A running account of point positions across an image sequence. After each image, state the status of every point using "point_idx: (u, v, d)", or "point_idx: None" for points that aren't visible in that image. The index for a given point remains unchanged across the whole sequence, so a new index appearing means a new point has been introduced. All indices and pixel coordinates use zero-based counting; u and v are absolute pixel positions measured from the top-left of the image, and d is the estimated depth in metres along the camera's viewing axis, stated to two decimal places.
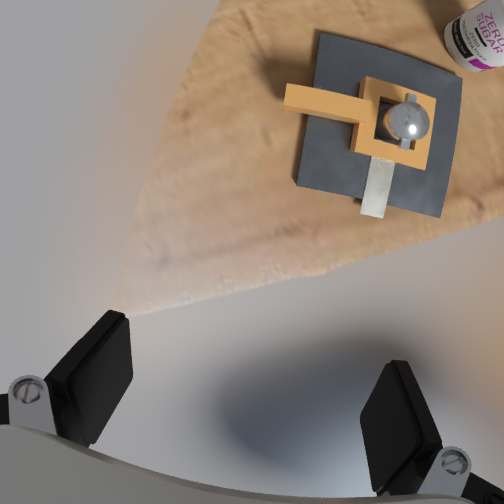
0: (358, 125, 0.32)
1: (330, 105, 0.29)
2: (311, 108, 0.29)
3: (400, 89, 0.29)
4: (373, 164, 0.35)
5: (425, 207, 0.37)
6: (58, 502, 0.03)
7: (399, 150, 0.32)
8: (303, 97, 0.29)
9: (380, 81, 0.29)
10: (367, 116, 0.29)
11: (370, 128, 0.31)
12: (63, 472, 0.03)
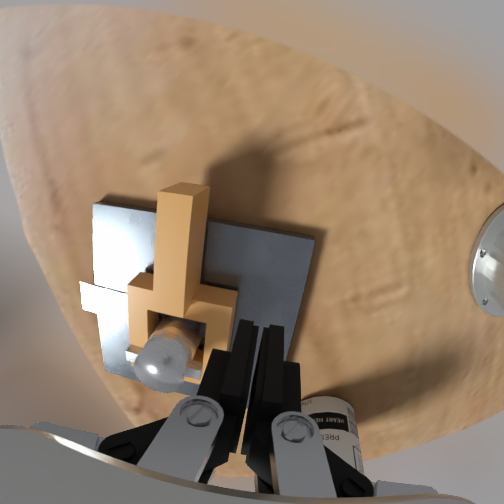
0: None
1: (166, 260, 0.21)
2: (157, 233, 0.21)
3: (221, 349, 0.26)
4: None
5: (108, 355, 0.32)
6: (58, 502, 0.03)
7: (142, 338, 0.26)
8: (172, 221, 0.20)
9: (227, 325, 0.25)
10: (161, 310, 0.23)
11: None
12: (63, 472, 0.03)
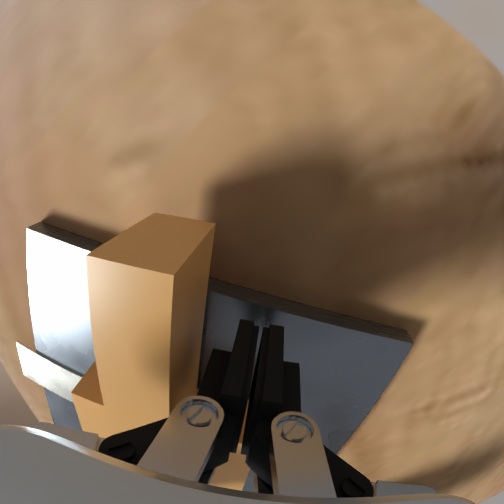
0: None
1: (125, 397, 0.09)
2: (98, 348, 0.08)
3: (235, 484, 0.13)
4: None
5: None
6: (58, 502, 0.03)
7: None
8: (127, 330, 0.08)
9: None
10: None
11: None
12: (63, 472, 0.03)
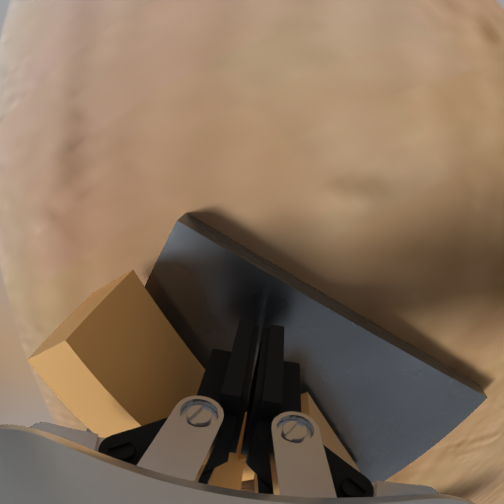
0: None
1: None
2: (87, 424, 0.08)
3: None
4: None
5: None
6: (58, 502, 0.03)
7: None
8: (84, 399, 0.08)
9: None
10: None
11: None
12: (63, 472, 0.03)
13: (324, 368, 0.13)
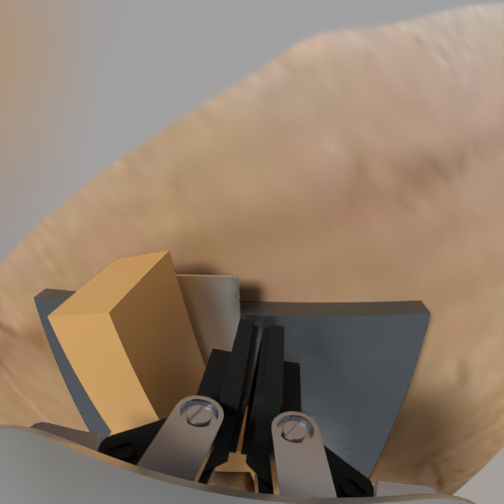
0: None
1: None
2: (89, 392, 0.08)
3: None
4: None
5: None
6: (58, 502, 0.03)
7: None
8: (101, 370, 0.08)
9: None
10: None
11: None
12: (63, 472, 0.03)
13: (348, 437, 0.15)
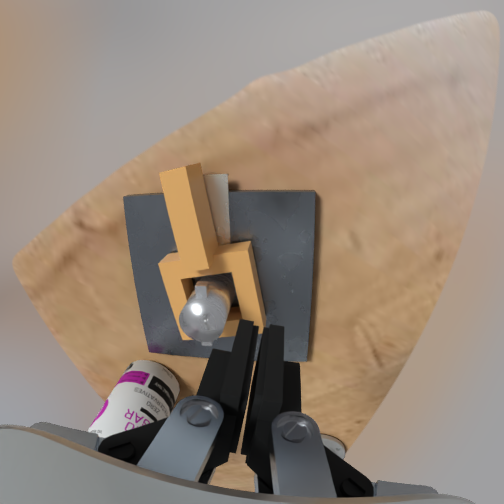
0: None
1: (181, 224, 0.27)
2: (168, 205, 0.26)
3: (252, 292, 0.30)
4: (225, 237, 0.32)
5: (145, 203, 0.32)
6: (58, 502, 0.03)
7: None
8: (176, 191, 0.26)
9: (249, 267, 0.29)
10: (189, 269, 0.28)
11: (189, 272, 0.30)
12: (63, 472, 0.03)
13: (288, 273, 0.33)
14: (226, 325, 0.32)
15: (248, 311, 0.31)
